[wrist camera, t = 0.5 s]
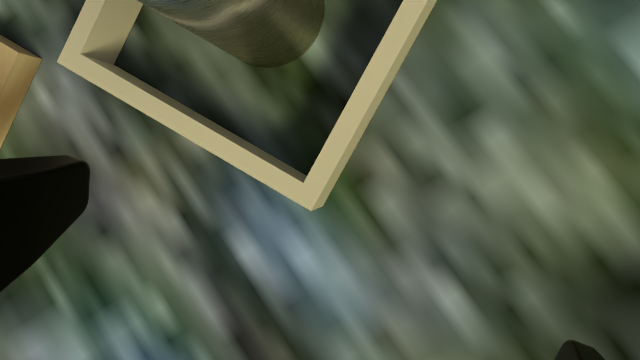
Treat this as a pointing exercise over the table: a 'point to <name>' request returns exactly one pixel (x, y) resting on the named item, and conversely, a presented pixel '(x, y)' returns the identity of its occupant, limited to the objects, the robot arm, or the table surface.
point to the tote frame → (309, 191)
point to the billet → (249, 26)
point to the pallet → (13, 80)
